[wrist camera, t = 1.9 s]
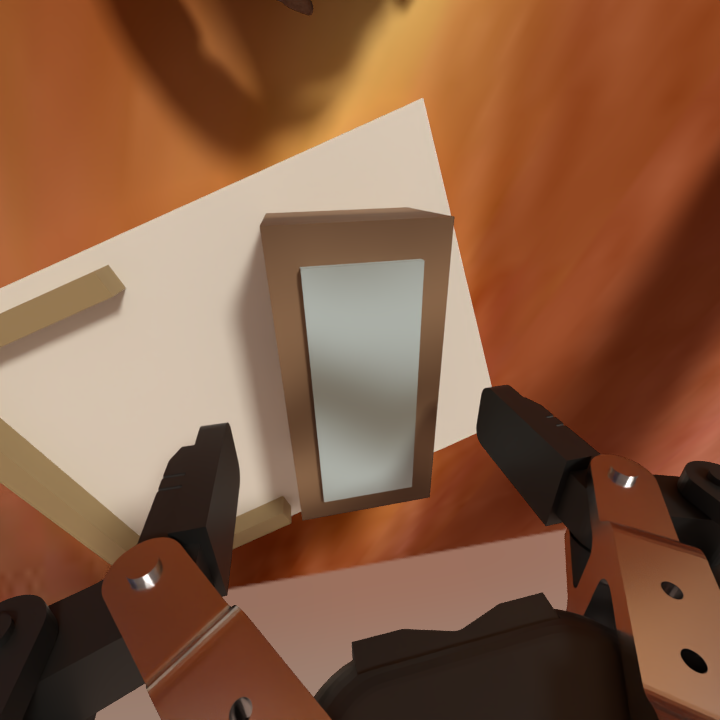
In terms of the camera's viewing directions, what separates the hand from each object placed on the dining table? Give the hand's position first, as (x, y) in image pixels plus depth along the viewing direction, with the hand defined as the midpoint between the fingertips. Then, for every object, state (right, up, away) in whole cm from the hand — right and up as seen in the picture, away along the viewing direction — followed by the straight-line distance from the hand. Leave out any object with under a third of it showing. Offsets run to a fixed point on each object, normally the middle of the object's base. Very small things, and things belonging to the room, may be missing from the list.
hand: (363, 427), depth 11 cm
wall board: (-6, +1, +7) cm, 9 cm away
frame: (-1, +3, +6) cm, 7 cm away
